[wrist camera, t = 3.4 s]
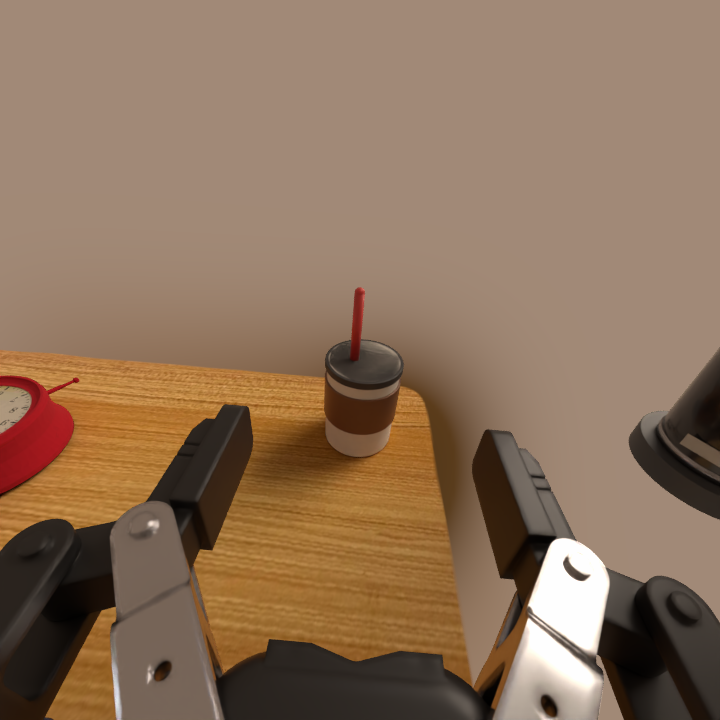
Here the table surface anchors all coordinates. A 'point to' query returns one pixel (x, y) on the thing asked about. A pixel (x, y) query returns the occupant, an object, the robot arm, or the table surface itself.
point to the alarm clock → (29, 429)
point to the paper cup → (360, 390)
